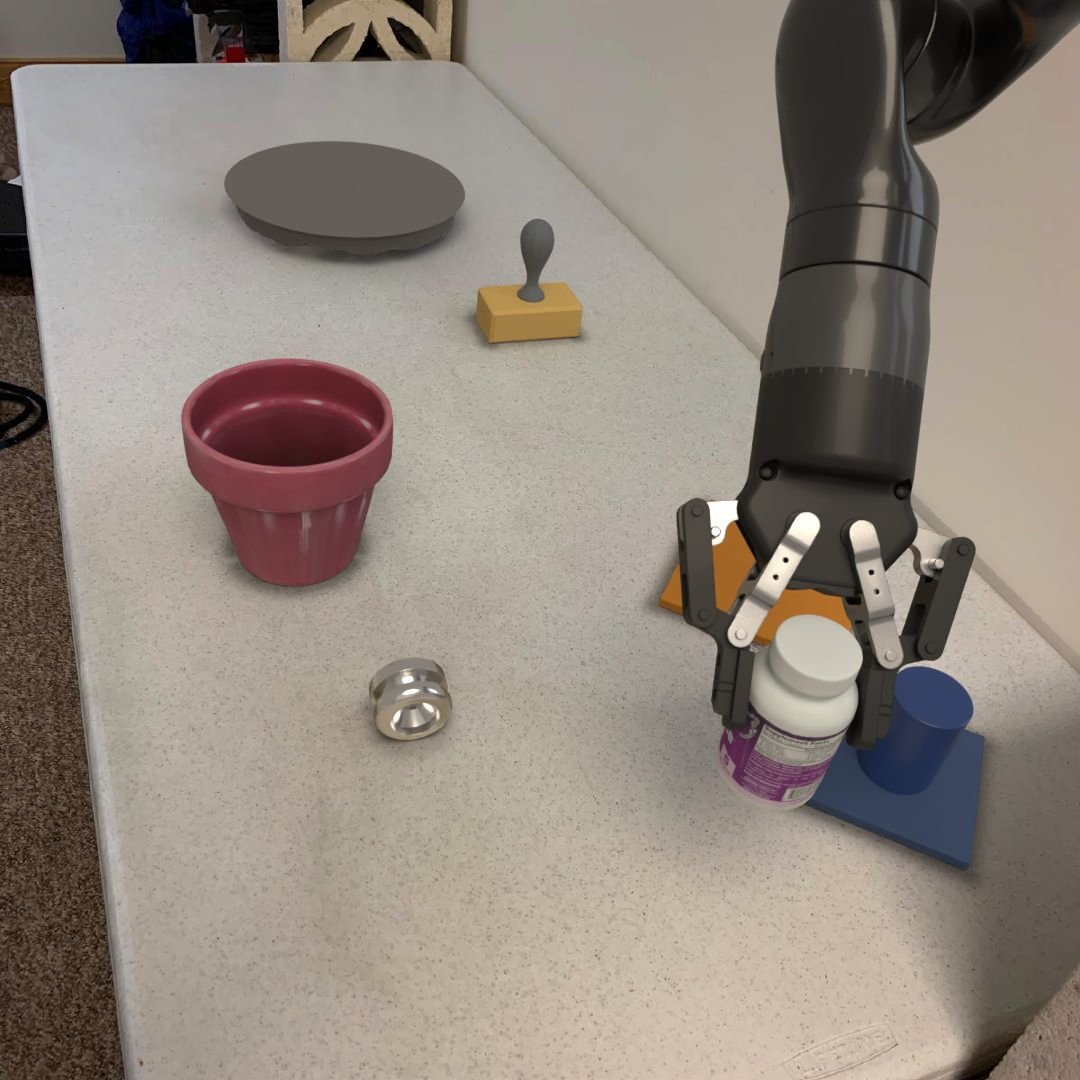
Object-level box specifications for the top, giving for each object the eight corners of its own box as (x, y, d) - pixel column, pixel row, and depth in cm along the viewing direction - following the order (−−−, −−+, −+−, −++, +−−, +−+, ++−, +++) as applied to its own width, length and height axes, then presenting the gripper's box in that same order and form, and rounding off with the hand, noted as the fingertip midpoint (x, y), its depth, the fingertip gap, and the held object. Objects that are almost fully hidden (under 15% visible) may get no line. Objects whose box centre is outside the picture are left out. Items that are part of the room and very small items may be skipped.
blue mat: (980, 743, 69) (984, 736, 69) (965, 871, 62) (970, 864, 61) (826, 684, 72) (829, 677, 71) (793, 800, 64) (796, 792, 64)
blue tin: (936, 750, 67) (977, 683, 63) (927, 807, 64) (970, 740, 59) (863, 722, 69) (898, 654, 64) (851, 776, 65) (887, 708, 60)
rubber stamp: (561, 311, 110) (576, 206, 102) (579, 338, 106) (595, 231, 98) (474, 317, 107) (482, 209, 99) (489, 345, 103) (499, 235, 95)
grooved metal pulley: (443, 702, 67) (446, 652, 64) (452, 737, 65) (456, 688, 62) (368, 713, 66) (368, 663, 62) (375, 749, 64) (375, 699, 60)
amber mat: (868, 561, 83) (871, 554, 82) (836, 673, 73) (840, 666, 72) (708, 505, 86) (710, 498, 86) (658, 605, 76) (660, 598, 76)
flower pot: (382, 484, 84) (383, 352, 75) (401, 603, 74) (404, 465, 65) (204, 493, 80) (184, 356, 72) (198, 618, 70) (174, 476, 62)
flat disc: (229, 276, 107) (224, 237, 104) (226, 173, 127) (223, 138, 124) (482, 273, 114) (485, 237, 111) (443, 176, 134) (444, 143, 131)
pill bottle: (716, 718, 53) (762, 590, 47) (815, 740, 53) (875, 615, 46) (709, 802, 49) (758, 675, 43) (817, 827, 49) (882, 703, 42)
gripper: (705, 340, 43) (653, 726, 42) (1029, 386, 43) (986, 774, 42) (679, 378, 51) (635, 707, 50) (956, 418, 51) (917, 748, 50)
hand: (796, 736), depth 46 cm, fingers closed on pill bottle, 5 cm apart
